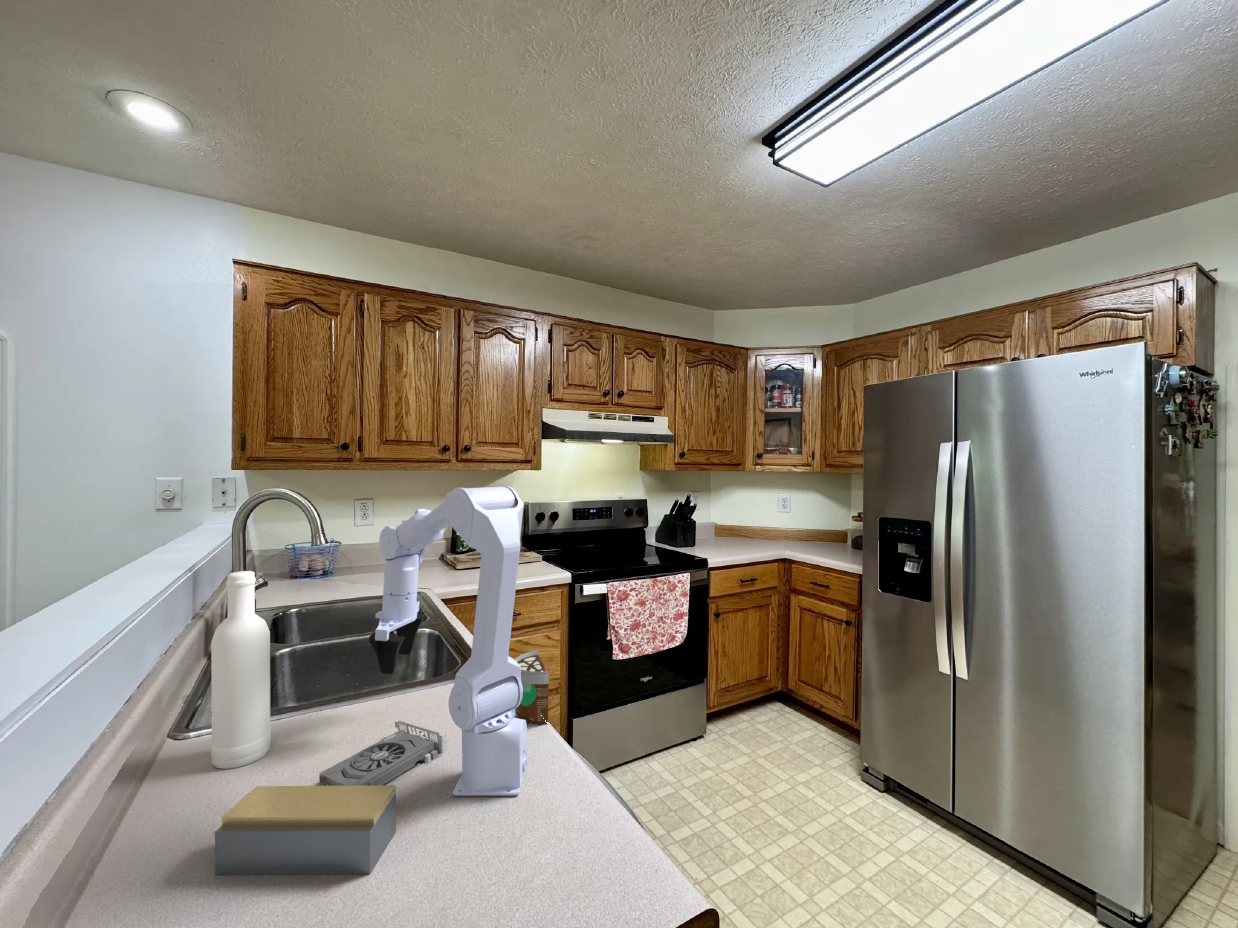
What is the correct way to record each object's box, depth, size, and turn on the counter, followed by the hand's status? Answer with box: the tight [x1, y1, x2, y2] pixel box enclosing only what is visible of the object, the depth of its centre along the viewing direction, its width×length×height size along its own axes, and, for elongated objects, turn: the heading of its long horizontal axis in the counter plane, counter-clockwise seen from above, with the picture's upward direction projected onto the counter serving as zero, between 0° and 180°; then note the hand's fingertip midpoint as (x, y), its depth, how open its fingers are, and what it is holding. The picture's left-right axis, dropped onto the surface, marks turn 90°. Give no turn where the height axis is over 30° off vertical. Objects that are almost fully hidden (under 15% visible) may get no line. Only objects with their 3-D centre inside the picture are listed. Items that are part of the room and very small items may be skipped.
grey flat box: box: [214, 784, 397, 876], centre depth 64 cm, size 18×7×6 cm, turn 90°
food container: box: [514, 650, 550, 726], centre depth 99 cm, size 12×6×10 cm, turn 17°
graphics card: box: [318, 719, 448, 786], centre depth 82 cm, size 17×4×12 cm
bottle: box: [210, 570, 272, 770], centre depth 86 cm, size 8×8×30 cm
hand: (396, 662), depth 96 cm, fingers open, 7 cm apart
